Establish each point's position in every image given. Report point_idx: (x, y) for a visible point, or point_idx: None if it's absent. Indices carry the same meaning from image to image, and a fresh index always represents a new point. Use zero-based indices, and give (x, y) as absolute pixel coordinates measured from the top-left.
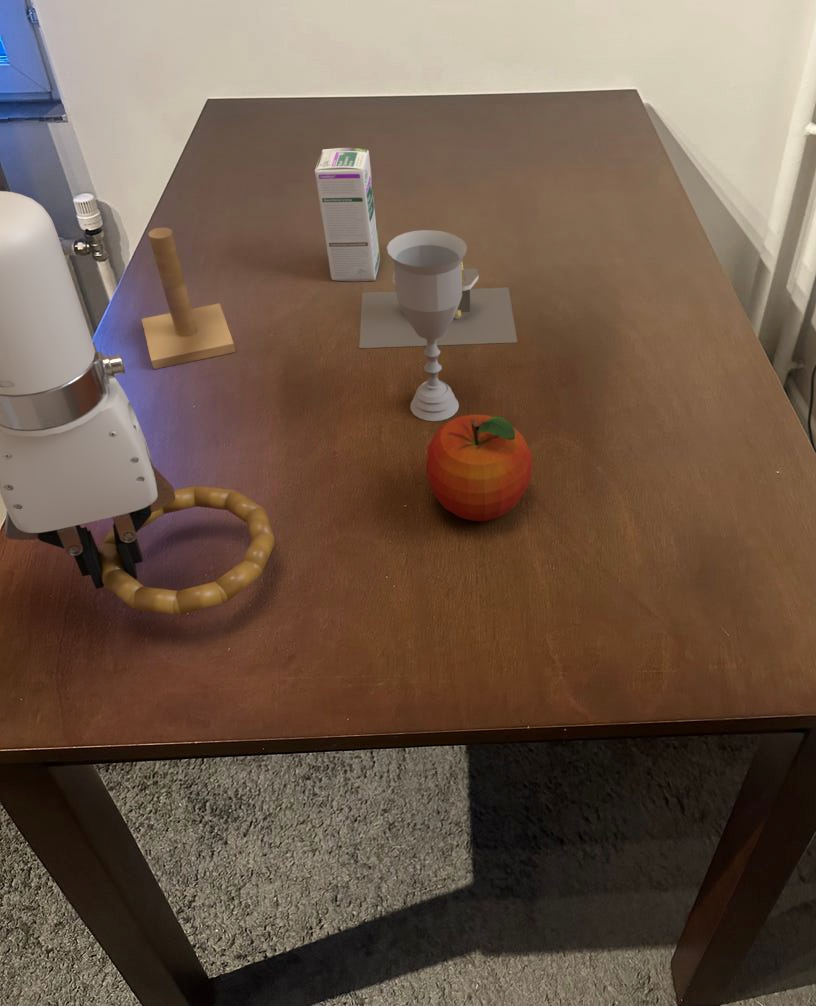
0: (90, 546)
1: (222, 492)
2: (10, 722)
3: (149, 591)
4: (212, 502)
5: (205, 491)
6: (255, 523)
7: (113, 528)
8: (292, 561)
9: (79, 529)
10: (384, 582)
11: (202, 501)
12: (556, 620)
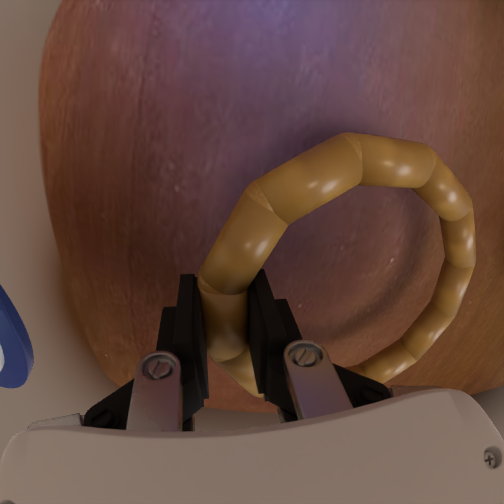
0: (203, 388)
1: (461, 208)
2: (104, 371)
3: None
4: (436, 207)
5: (444, 190)
6: (457, 296)
7: (261, 353)
8: (432, 259)
9: (184, 394)
10: (465, 307)
11: (425, 198)
12: (492, 350)
